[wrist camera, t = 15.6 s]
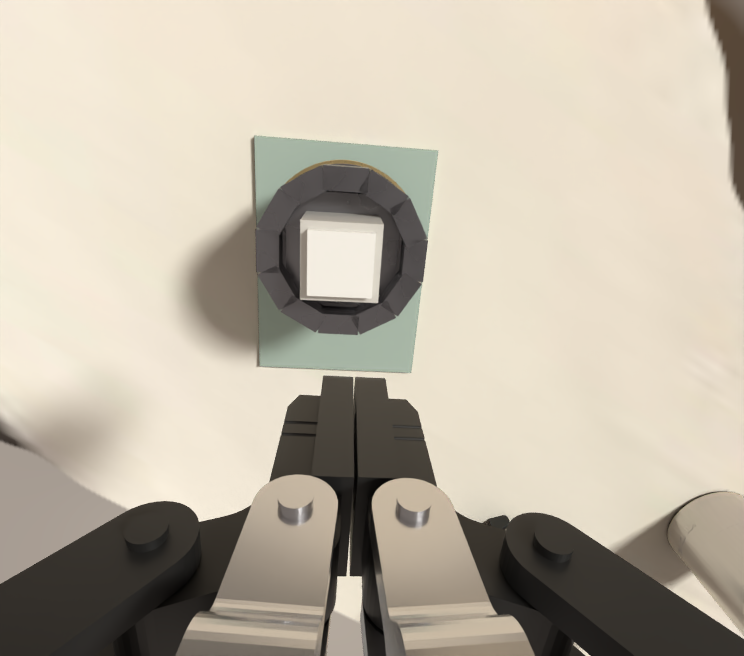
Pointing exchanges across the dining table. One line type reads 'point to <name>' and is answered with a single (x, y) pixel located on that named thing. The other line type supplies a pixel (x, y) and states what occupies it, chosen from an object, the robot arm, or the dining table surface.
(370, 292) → the white stepped cube
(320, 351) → the mat
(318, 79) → the dining table surface
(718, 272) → the dining table surface
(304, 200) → the grey faceted ring
